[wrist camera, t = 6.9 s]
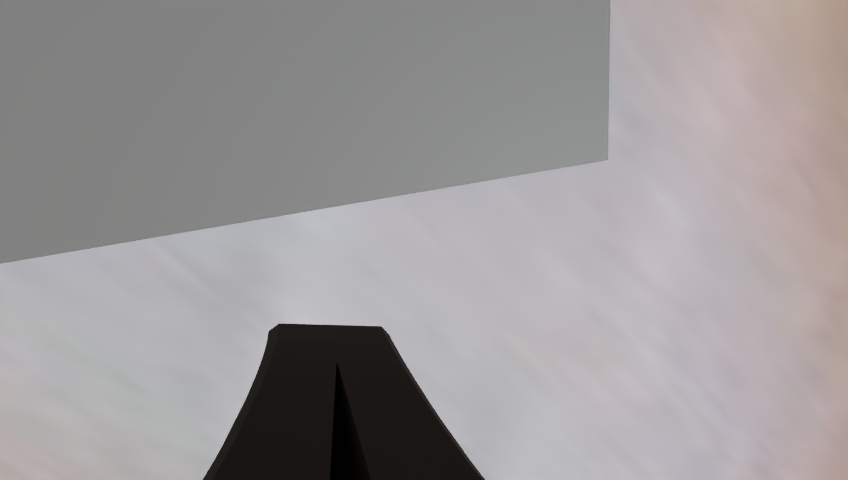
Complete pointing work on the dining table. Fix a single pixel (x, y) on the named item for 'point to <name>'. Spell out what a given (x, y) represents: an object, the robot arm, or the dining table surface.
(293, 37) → the grey flat slab
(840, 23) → the dining table surface
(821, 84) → the dining table surface
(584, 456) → the dining table surface
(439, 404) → the dining table surface
